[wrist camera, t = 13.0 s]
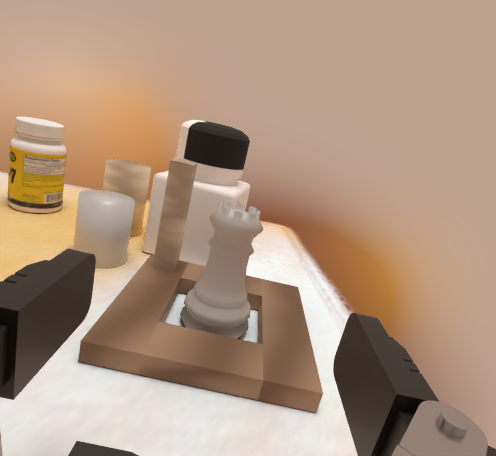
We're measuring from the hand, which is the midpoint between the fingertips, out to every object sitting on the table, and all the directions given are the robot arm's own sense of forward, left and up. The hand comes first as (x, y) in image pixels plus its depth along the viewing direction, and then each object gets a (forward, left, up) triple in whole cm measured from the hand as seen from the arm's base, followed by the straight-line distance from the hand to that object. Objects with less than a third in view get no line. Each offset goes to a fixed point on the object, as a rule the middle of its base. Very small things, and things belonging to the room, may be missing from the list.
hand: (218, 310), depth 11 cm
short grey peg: (-10, +17, -7) cm, 21 cm away
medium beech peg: (-11, +24, -7) cm, 27 cm away
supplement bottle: (-20, +25, -7) cm, 33 cm away
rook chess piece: (0, +11, -7) cm, 13 cm away
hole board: (0, +11, -7) cm, 13 cm away
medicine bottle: (-3, +23, -7) cm, 24 cm away
